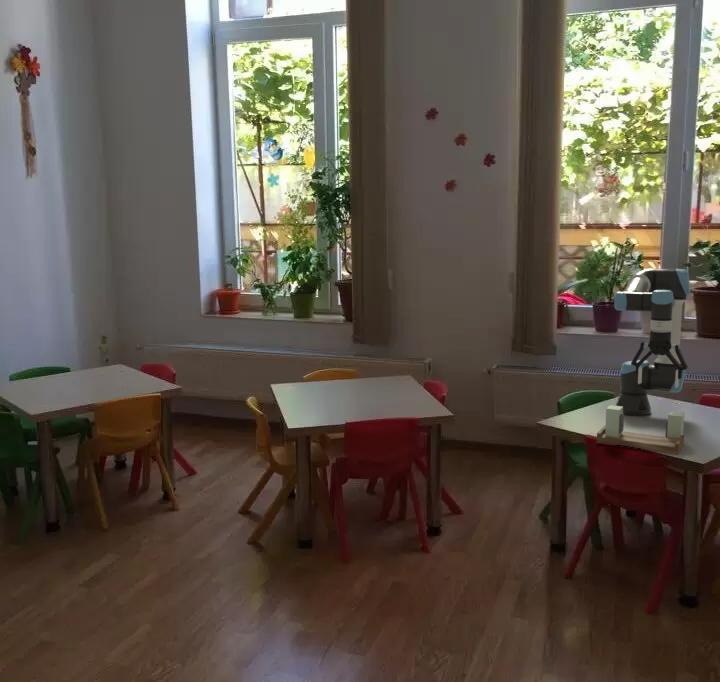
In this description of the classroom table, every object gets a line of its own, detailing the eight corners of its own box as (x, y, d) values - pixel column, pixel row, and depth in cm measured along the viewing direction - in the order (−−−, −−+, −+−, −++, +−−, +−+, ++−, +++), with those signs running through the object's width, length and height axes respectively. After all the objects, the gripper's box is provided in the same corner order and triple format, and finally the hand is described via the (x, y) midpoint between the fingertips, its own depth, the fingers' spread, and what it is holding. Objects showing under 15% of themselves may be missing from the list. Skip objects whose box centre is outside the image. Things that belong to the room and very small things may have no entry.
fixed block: (609, 431, 302) (610, 405, 300) (623, 433, 299) (624, 406, 297) (605, 435, 297) (606, 408, 295) (619, 437, 294) (621, 410, 292)
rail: (604, 435, 306) (604, 425, 306) (683, 445, 291) (684, 435, 290) (596, 442, 296) (597, 433, 296) (678, 454, 281) (678, 444, 280)
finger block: (667, 437, 301) (669, 411, 299) (682, 439, 298) (684, 412, 296) (665, 441, 296) (666, 414, 294) (680, 443, 293) (681, 416, 291)
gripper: (624, 329, 291) (622, 383, 295) (694, 334, 277) (690, 390, 281) (629, 327, 297) (627, 379, 301) (697, 331, 284) (694, 386, 287)
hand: (657, 385), depth 291 cm, fingers open, 13 cm apart
